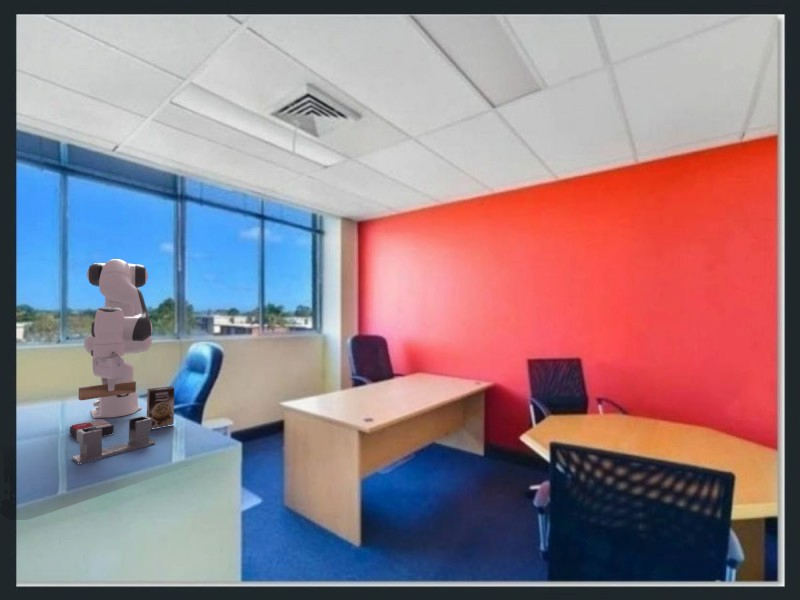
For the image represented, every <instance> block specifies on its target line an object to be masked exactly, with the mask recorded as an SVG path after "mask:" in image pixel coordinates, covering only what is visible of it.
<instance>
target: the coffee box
mask: <svg viewBox="0 0 800 600" xmlns="http://www.w3.org/2000/svg"><path fill="white" fill-rule="evenodd" d="M146 390H147V392H146V393H147V397H146V416H147V417H149V418H152V428H157V427H163V426H168V425H172V424H175V423H174V420H175V414H174V413H175V388H174V387H173V386H161V387H154V388H153V387H151V388H147V389H146ZM152 428H151V429H152Z"/></svg>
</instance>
